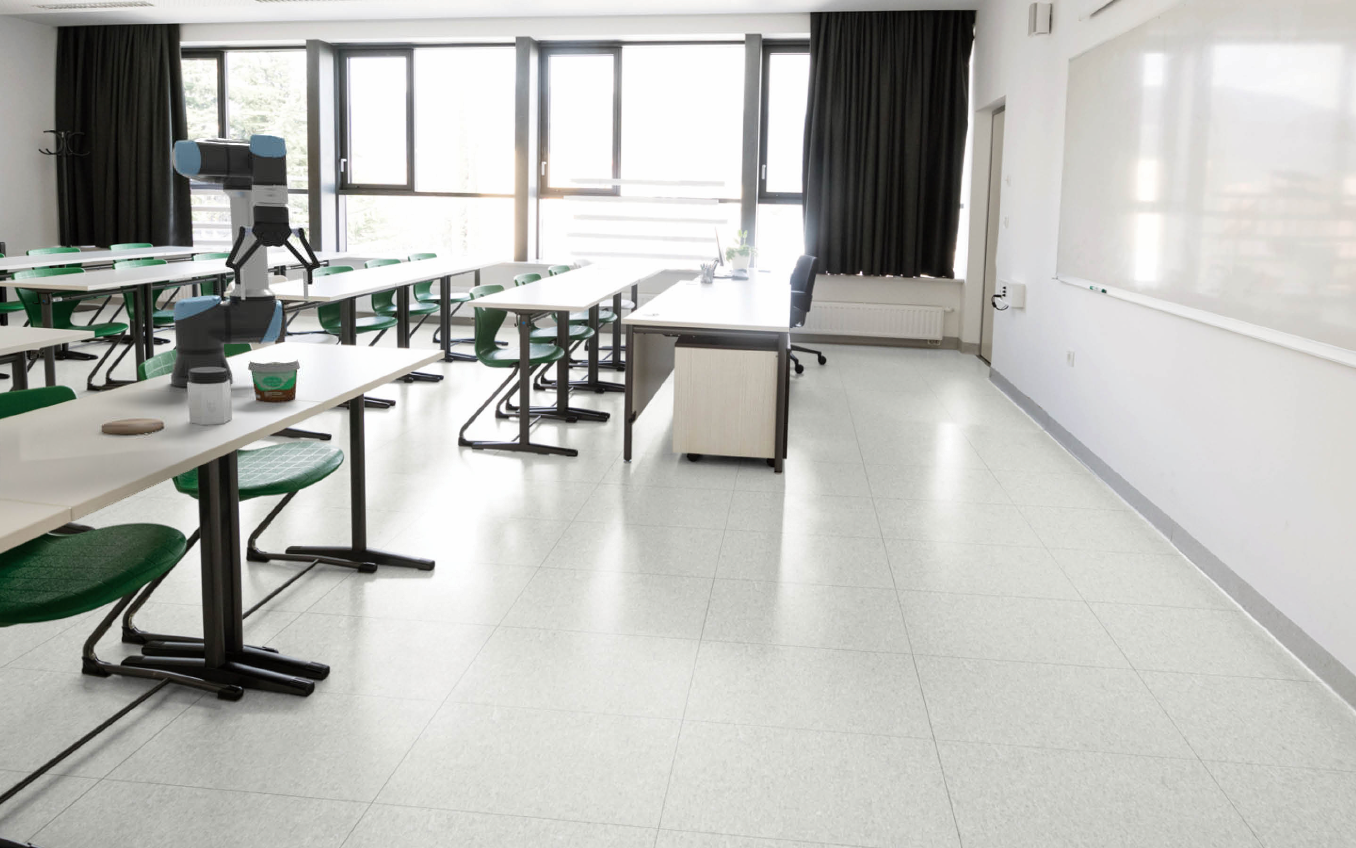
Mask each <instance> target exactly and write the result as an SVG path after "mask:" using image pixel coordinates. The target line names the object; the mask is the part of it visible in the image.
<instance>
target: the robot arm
mask: <svg viewBox="0 0 1356 848" xmlns="http://www.w3.org/2000/svg"><path fill="white" fill-rule="evenodd" d="M286 146H287V145H286V140H285V137H284V136H281V135H278V134H277V135H276V134H266V133H265V134H262V133H261V134H259V133H254V134H251V135H250V137H249V139H241V138H240V139H239V138H238V139H237V138H216V137H195V138H190V139H186V140H176V142H175V143H174V147H173V149H172V151H171V163H172V166H173V168H174V170H176V172H177V173H178V174H180V175H181V176H183V177H185V178H187V179H191V180H193V181H196V182H202V183H207V184H219V185H222V191H223V193H224V194H225V195H227V197H228V198H229V206H230V207H229V210H230V223H231V224H230V225H231V227H230V228H231V241H232V248H231V250H230V253H229V254H228V256H227V259H226V261H225V262H224V263H225V264H224V265H225V267H226V268H229V269H232V270H233V275H234V289H232V291H230V292H229V293H228V294H229V295H228V296H229V300H222V298H221V295H215V294H214V295H201V296H195V297H194V296H193V297H188V298H184V299H179V300H178V301H176V303H174V306H173V321H174V331H175V349H176V351H175V352H176V357H175V360H174V364H173V368H172V370H171V371H172V372H171V375H170V382H171V385H172V386H174V387H179V388H187V382H189V374H188V371H189V370H190V369H193V368H199V367H222V368H226V369H227V370H228V380H230V384H233V381H234V379H233V372H232V370H231V368H230V364H229V363H228V360H227V357H226V355H225V347H224V345H227V344H228V345H231V344H232V345H235V344H237V345H238V344H263V343H274V342H275V341H277V340H278V339H279V337H280V334H281V330H282V329H281V328H282V322H283V303H282V302H281V300H279V299H276V293H275V292H274V291H273V290H271V288H270V283H269V282H270V281H269V265H268V264H269V263H268V247H276V248H280V247H282V246H285V247H286V249H287V250H288V251H290V253H291V254H292V255H293V256H294V257H295V258H296V260H298V261H299V263H300V264H302V266H303V267H304V268H305V269H302V282H303V285H302V286H303V299H304V300H309V285H313V283H314V282H313V281H314V279H313V276H314V275H313V271H314V270H315V269H316V270H317V269H320V268H321V264H320V262H319V260H318V257H317V255H316V254H315V253H314V250H313V249H312V247H311V245H310V244H309V242H308V240H307V238H306V235H305V229H304V228H303V227H302V226H299V227H296V228H291V227H290V215H289V214H290V213H289V211H290V210H289V208H288V206H286V205H288V204H289V191H288V177H287V171H288V170H287V169H288V168H287V153H288V150H287V147H286ZM292 234H293V235H294V236H295V237H296V238H299V241H300V243H301V245H302V247H303V248H304V250H305V252H306V254H307V255H308V258H309V259H310V261H311V262H312V263H309V261H307V260H306V259H305V257H304V256H303V255H302V254H301V253H300V252H299V251H298V250H297V249H296V248H295V247H294V246H293V245H292V243H291V242H290V241H289V238H290V237H291V235H292Z"/></svg>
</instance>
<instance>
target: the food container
mask: <svg viewBox="0 0 1356 848" xmlns="http://www.w3.org/2000/svg"><path fill="white" fill-rule="evenodd" d="M247 369H248V370H249V371H251V372H250V373H251V378H252V384H253V388H254V394H255V400H256V401H257V402H261V403H269V404H270V403H273V404H275V403H277V404H278V403H286V402H287V401H288V402H292V401H294V400H295V399H296V395H297V394H296V393H297V392H296V391H297V380H298V379H297V377H298V370H299V369H301V365H300V362H299V361H298V359H296V360H295V361H291V362H279V361H278V362H277V361H275V362H274V361H273V362H272V361H271V362H267V363H260V362H253V361H251V360H249V363H248V368H247ZM291 400H292V401H291Z"/></svg>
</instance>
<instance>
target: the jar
mask: <svg viewBox="0 0 1356 848" xmlns="http://www.w3.org/2000/svg"><path fill="white" fill-rule="evenodd" d="M188 374H189V382H187V387H186V388H187V389H186V390H187V399H188V416H189V423H191V424H194V425H201V426H208V425H209V426H212V425H224V424H227V423H228V422H230V421H232V419H233V413H232V412H233V410H232V409H233V407H232V393H231V390H232V389H231V383H230V380H228V370H227V369H226V368H222V367H199V368H193V369H190V370H189V371H188Z"/></svg>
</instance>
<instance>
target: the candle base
mask: <svg viewBox="0 0 1356 848" xmlns="http://www.w3.org/2000/svg"><path fill="white" fill-rule="evenodd" d="M164 428H165V424H164V421H162V420H159V419H156V418H155V419H154V418H130V419H129V418H126V419H119V420H114V421H109V422H106V423H104V424H102V425H101V432H102V433H103V434H105V435H109V436H111V435H112V436H138V434H141V435H146V434H145V433H148V434H152V432H153V433H157V432H160V431H162V430H163V429H164ZM161 429H162V430H161ZM159 430H160V431H159ZM156 431H157V432H156Z"/></svg>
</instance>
